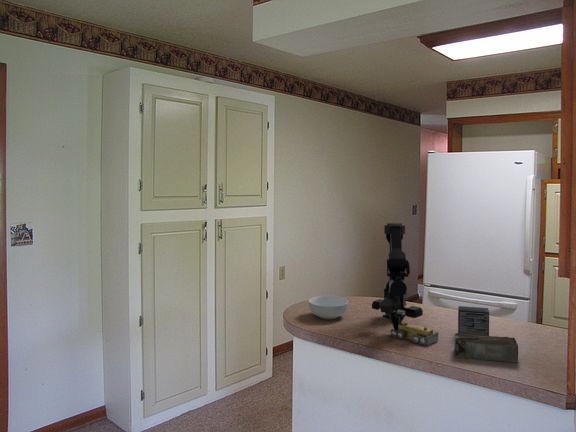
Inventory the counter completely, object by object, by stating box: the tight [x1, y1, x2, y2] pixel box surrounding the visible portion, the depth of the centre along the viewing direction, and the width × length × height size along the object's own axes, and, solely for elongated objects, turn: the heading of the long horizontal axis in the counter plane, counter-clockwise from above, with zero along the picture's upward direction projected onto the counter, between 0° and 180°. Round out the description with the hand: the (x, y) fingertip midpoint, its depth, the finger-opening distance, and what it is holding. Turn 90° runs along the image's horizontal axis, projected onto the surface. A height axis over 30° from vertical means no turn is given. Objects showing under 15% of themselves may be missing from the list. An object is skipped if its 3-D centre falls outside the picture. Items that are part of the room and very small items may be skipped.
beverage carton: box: [453, 332, 519, 364], centre depth 153 cm, size 8×19×7 cm, turn 72°
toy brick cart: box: [390, 328, 439, 347], centre depth 170 cm, size 9×15×3 cm, turn 45°
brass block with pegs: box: [398, 321, 434, 341], centre depth 170 cm, size 4×12×5 cm, turn 45°
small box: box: [457, 305, 490, 336], centre depth 172 cm, size 11×6×10 cm, turn 71°
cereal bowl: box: [308, 295, 349, 320], centre depth 198 cm, size 17×17×7 cm
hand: (396, 330), depth 176 cm, fingers closed
